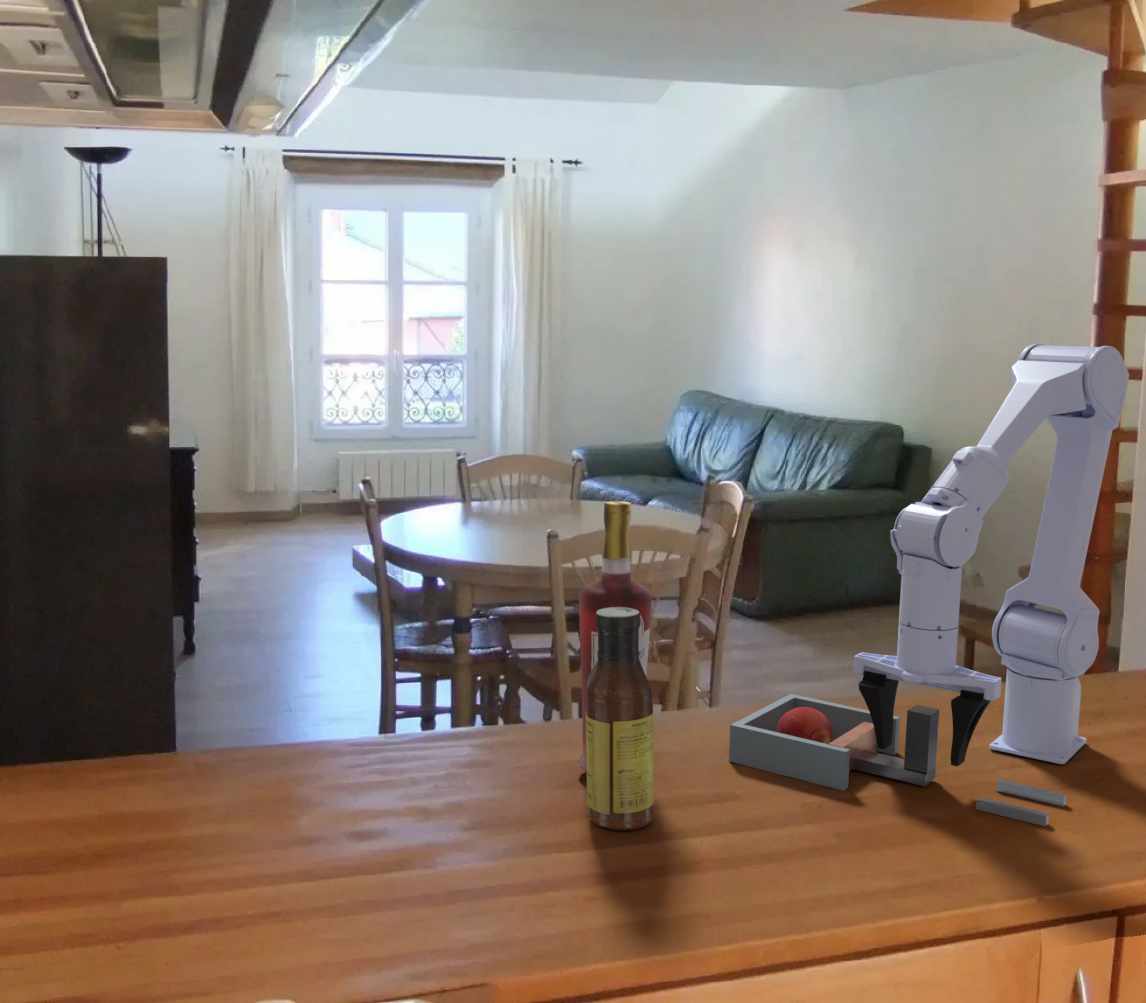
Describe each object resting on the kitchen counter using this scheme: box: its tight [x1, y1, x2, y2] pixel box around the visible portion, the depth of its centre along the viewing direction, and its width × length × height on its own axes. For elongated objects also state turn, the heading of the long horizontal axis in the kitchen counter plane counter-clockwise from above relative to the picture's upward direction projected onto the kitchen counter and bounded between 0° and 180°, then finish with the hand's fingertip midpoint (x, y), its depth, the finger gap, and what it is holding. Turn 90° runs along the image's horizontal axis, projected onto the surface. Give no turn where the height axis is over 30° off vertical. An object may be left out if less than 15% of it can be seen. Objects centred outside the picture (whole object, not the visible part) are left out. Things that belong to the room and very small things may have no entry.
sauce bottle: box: [586, 607, 655, 831], centre depth 113 cm, size 6×6×20 cm
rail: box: [975, 778, 1067, 828], centre depth 120 cm, size 7×6×1 cm
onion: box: [776, 707, 833, 744], centre depth 131 cm, size 6×6×8 cm
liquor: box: [577, 500, 653, 774], centre depth 124 cm, size 7×7×28 cm
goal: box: [728, 693, 901, 791], centre depth 132 cm, size 14×13×4 cm
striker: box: [829, 704, 940, 787], centre depth 127 cm, size 9×9×7 cm
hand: (920, 754), depth 125 cm, fingers open, 7 cm apart
